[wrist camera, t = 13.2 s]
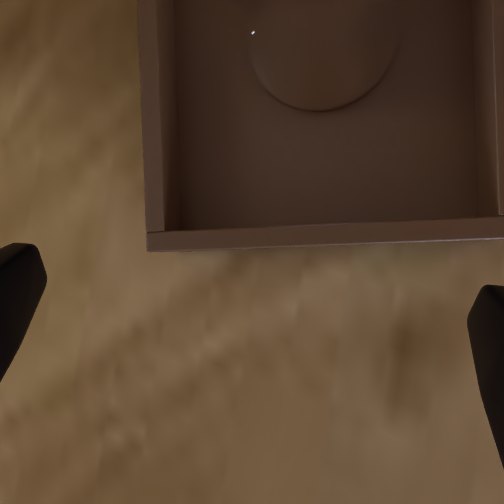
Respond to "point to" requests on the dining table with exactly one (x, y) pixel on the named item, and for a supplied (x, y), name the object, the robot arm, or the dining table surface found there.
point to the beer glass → (320, 48)
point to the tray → (321, 137)
